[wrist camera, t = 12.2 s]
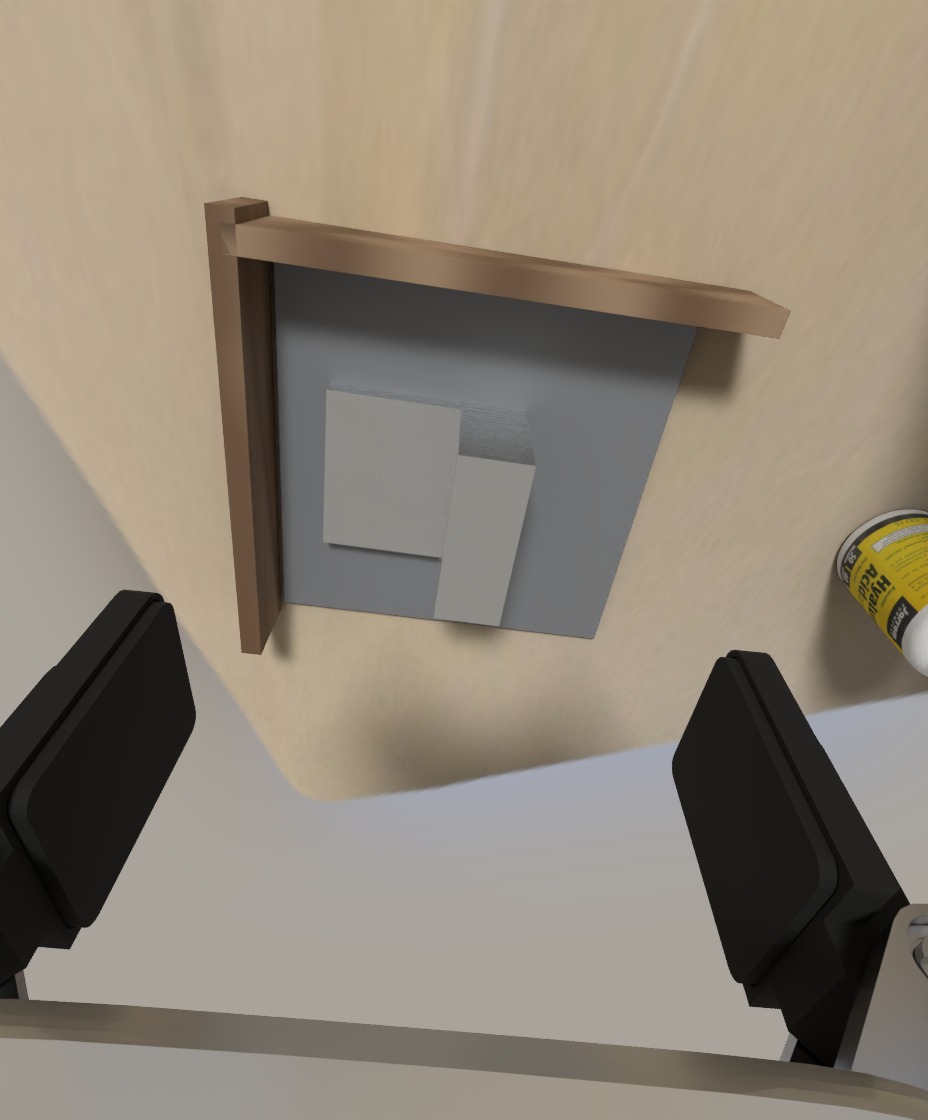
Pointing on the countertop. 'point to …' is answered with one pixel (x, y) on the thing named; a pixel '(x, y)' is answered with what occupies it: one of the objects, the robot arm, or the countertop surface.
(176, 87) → the countertop surface
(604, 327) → the slate mat
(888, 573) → the supplement bottle
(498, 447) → the aluminium bracket
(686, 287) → the walnut corner walls
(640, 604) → the countertop surface
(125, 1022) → the robot arm
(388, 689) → the countertop surface
